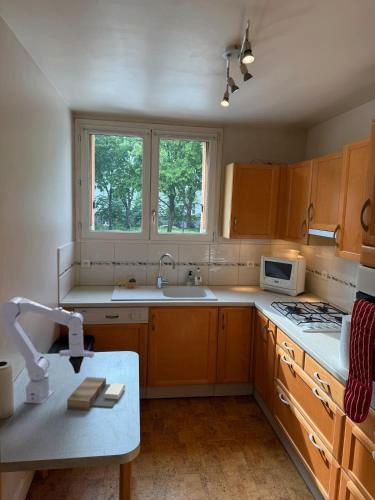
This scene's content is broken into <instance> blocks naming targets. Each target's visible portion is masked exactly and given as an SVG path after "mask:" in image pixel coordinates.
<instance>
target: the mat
mask: <svg viewBox="0 0 375 500" xmlns="http://www.w3.org/2000/svg"><path fill="white" fill-rule="evenodd" d="M111 384H112V383H111ZM111 384H109V383H106V386H105V388H104V389H103V390H102V392H101V393H100V395H99V396H98V397H97V399H96V400H95V402H94V403H93V404H92V407H94V408H96V407H97V408H106V409H107V408H110V409H113V407H114V406H115V404H116V402H117V401H118V399H107V398H105V392H106V391H107V389H108V388H109V387H110V385H111Z"/></svg>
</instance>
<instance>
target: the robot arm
mask: <svg viewBox="0 0 375 500" xmlns="http://www.w3.org/2000/svg"><path fill="white" fill-rule="evenodd" d="M1 306H2V307H1V308H0V315H1V325H2V328H3V329H4V331H5V332H6V333H7V335H8V337H9V338H10V339H11V341H12V343H13V344H14V346H15V347H16V348H17V350H18V352H19V353H20V355H21V356H22V357H23V359H24V361H25V368H26V371H27V374H28V375H27V376H28V377H29V382H28V383H27V385H26V387H25V397H26V399H25V400H24V403H26V404H27V403H28V404H29V403H30V404H44V402H46V401H47V400H48V398H49V397H51V395H53V394H54V392H55V391H54V390H50V378H49V377H50V374H49V371H48V368H50V364H51V363H50V361H49V359H48V358H47V357H45V356H43V354H42V353H41V352H38V351H37V349H36V348H35V347H34V344H33V343H32V342H31V340H30V339H29V337H28V336H27V334H26V333H25V331H24V330H23V328H22V327H21V325H20V324H19V321H18V320H19V318H20V315H21V314H25V313H29V312H30V313H34V314H37V315H41V316H45V317H49V319H50V320H49V321H52V322H55V323H57V324H60V325H63V326H67V327H66V328H68V347H69V349H64V350H63V349H62V350H60V351H59V357H69V358H68V361H69V363H70V364H71V367H72V368H73V371H74V374H79V373H80V372H81V367H82V363H83V361H84V358H90V359H93V358H94V357H95V352H94V351H90V350H85V349H84V330H83V323H84V316H83V314H82V313H79V312H78V311H75V312H74V311H69V310H65V309H63V307H60V306H59V307H55V308H50V307H49V306H48V307H47V306H45V305H42V303H41V304H40V303H38V302H35V301H33V300H31V299H29V298H27V297H26V298H25V297H22V296H14V297H12V298H11V299H10V300H8V301H6V302H4V304H3V305H1Z"/></svg>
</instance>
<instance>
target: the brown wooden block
mask: <svg viewBox="0 0 375 500" xmlns="http://www.w3.org/2000/svg"><path fill="white" fill-rule="evenodd" d="M106 385H107V378H106V377H96V376H95V377H94V376H93V377H92V376H86V377H85V378H84V380H82V382H80V384H79V385H78V386H77V387H76V389H75V390H74V391H73V392H72V393H71V395H70V396H69V397H68V398H67V399H66V404H67V405H66V407H67V410H74V411H75V410H76V411H86V412H87V411H89V412H90V410H91V409H92V407H93V406H92V404H93V403H94V402H95V400H96V399H97V397H98V396H99V395H100V393H101V392H102V390H103V389H104V388H105V386H106Z"/></svg>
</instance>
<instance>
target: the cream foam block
mask: <svg viewBox="0 0 375 500" xmlns="http://www.w3.org/2000/svg"><path fill="white" fill-rule="evenodd" d="M125 389H126V384H125V383H115V382H111V385H110V387H109V388H108V389H107V391H106V392H105V398H107V399H117V400H119V399H120V398H121V396H122V394H123V392H124V391H125Z"/></svg>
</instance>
